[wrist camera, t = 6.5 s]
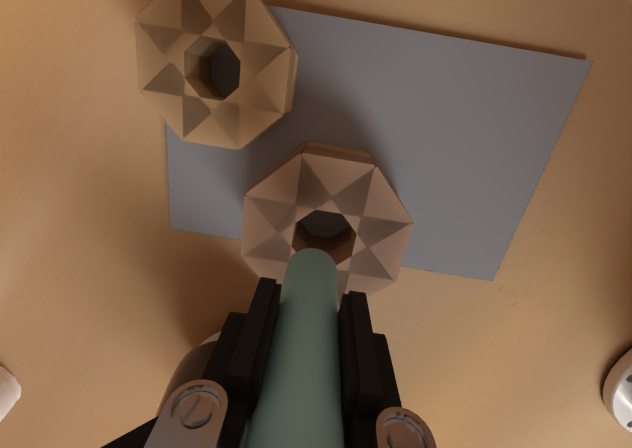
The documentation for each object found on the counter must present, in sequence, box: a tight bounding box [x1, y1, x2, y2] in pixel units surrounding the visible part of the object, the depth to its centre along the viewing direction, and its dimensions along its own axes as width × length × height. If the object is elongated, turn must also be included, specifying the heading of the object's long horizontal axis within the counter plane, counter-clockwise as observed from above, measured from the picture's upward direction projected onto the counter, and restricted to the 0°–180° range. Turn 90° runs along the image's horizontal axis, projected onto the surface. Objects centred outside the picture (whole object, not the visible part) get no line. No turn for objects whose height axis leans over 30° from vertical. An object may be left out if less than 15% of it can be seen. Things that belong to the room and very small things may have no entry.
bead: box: [240, 141, 413, 310], centre depth 19 cm, size 9×9×4 cm
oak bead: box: [135, 0, 299, 150], centre depth 16 cm, size 7×7×4 cm
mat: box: [166, 4, 593, 281], centre depth 19 cm, size 23×14×1 cm, turn 81°
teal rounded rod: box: [244, 248, 344, 448], centre depth 8 cm, size 2×2×12 cm
